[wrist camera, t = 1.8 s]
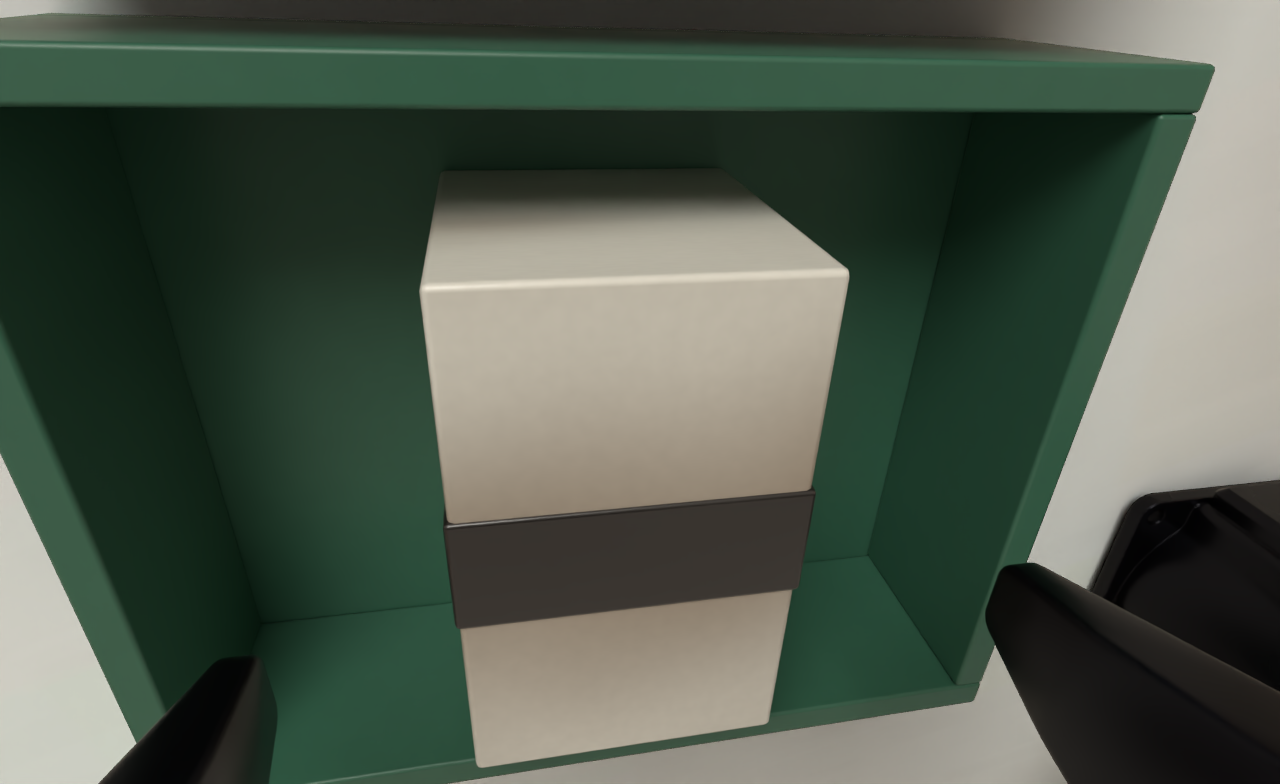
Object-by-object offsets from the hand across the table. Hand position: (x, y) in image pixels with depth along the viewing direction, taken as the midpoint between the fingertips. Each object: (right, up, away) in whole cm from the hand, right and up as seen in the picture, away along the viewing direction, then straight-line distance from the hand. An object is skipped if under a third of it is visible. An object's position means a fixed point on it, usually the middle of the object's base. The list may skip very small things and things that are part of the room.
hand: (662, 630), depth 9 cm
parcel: (-1, +3, +5) cm, 6 cm away
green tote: (-1, +3, +6) cm, 7 cm away
